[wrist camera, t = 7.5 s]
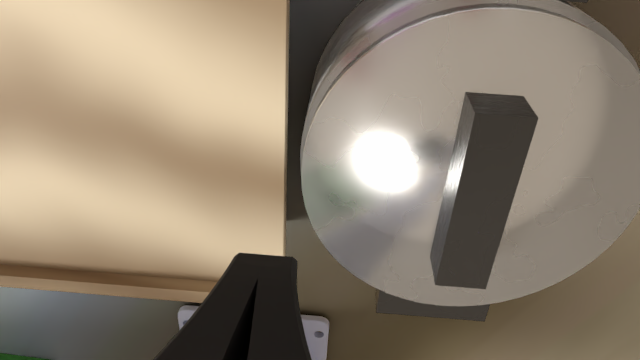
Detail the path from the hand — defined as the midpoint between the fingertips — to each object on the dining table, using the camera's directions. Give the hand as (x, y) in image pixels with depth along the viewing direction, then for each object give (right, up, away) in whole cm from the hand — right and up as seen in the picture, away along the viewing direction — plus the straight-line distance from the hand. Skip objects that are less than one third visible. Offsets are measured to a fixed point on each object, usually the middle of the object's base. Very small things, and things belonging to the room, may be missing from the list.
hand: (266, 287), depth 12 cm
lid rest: (-6, +6, +9) cm, 12 cm away
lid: (+6, +3, +5) cm, 8 cm away
